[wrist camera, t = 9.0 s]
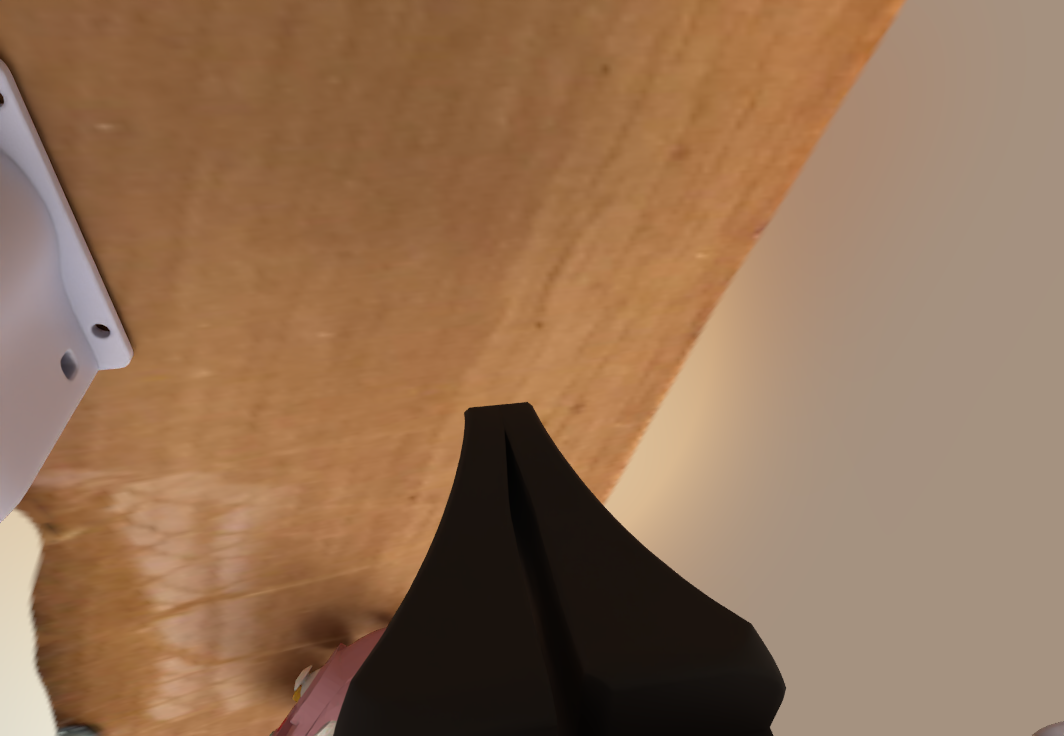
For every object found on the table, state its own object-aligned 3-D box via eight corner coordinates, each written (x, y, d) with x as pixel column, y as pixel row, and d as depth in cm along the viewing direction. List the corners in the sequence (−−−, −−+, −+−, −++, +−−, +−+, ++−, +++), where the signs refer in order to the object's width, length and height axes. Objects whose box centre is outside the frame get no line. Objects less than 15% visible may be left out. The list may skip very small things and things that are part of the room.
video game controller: (362, 583, 34) (284, 697, 27) (436, 634, 34) (375, 759, 27) (292, 682, 38) (210, 800, 32) (358, 726, 38) (289, 852, 32)
